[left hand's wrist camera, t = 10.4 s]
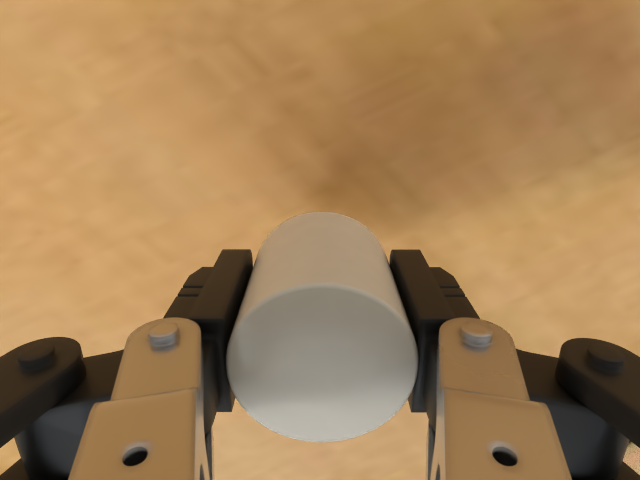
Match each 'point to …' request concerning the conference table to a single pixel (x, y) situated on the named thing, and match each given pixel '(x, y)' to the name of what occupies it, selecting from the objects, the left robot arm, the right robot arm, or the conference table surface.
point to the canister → (322, 333)
